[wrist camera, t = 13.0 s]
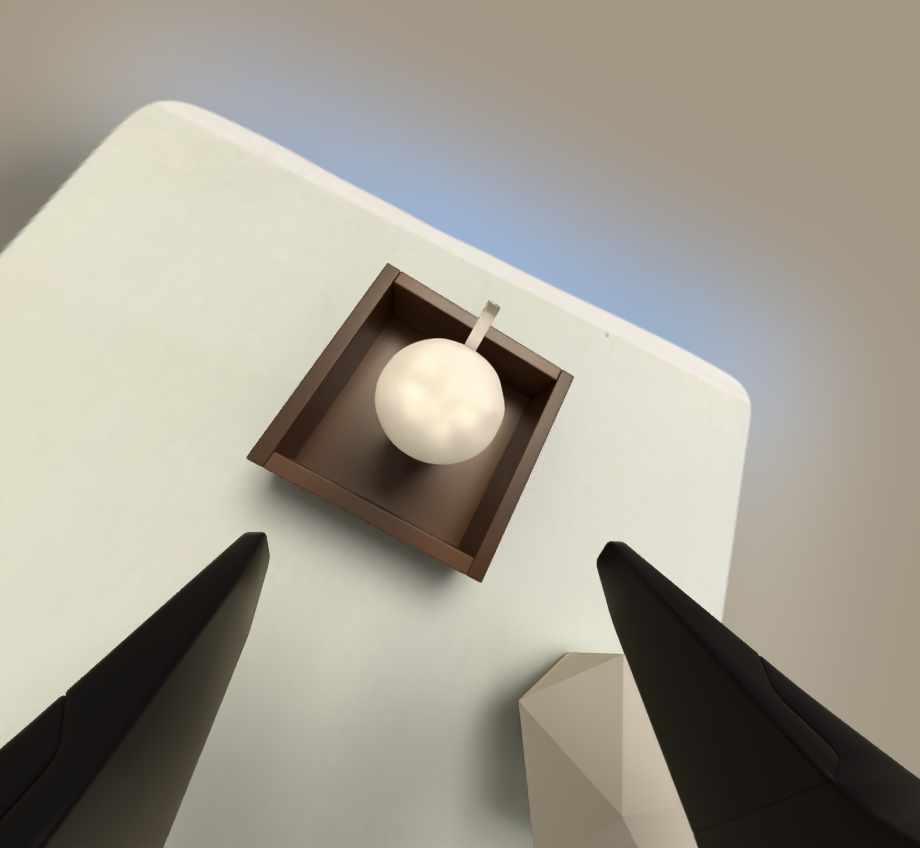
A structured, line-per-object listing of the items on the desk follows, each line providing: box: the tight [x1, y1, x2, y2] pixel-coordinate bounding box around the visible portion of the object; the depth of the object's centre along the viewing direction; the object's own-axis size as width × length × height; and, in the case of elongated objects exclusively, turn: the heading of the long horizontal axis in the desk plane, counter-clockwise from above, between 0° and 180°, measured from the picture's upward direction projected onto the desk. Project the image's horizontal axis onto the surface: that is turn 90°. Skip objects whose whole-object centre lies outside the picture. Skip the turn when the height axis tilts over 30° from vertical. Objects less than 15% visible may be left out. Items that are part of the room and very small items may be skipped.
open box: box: [247, 263, 574, 583], centre depth 18 cm, size 12×12×4 cm
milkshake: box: [375, 301, 505, 465], centre depth 15 cm, size 5×5×10 cm
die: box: [518, 652, 698, 848], centre depth 15 cm, size 8×9×10 cm
